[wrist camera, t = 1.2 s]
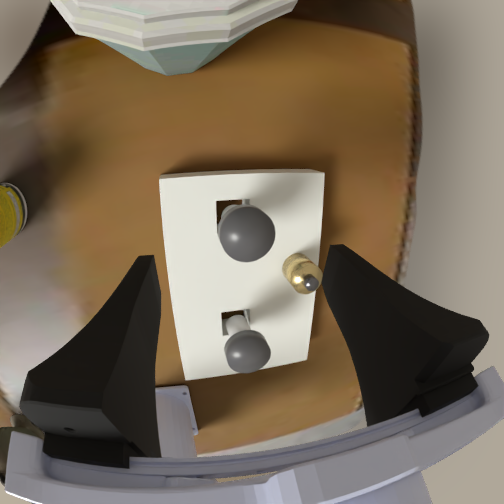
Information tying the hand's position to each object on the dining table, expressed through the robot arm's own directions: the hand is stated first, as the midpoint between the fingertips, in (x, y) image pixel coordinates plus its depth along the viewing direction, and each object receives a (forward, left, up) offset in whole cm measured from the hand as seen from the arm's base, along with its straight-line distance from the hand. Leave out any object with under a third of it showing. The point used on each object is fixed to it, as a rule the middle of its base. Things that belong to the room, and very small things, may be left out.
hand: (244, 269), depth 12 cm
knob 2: (-9, -1, -9) cm, 13 cm away
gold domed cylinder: (-5, -6, -10) cm, 13 cm away
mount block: (-6, -2, -12) cm, 14 cm away
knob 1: (0, -1, -9) cm, 10 cm away
